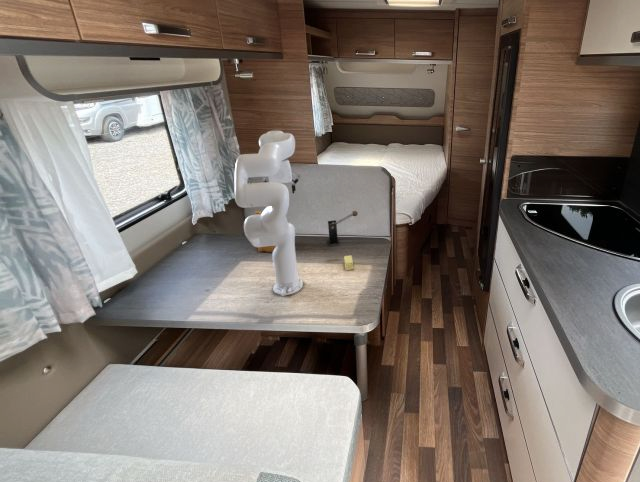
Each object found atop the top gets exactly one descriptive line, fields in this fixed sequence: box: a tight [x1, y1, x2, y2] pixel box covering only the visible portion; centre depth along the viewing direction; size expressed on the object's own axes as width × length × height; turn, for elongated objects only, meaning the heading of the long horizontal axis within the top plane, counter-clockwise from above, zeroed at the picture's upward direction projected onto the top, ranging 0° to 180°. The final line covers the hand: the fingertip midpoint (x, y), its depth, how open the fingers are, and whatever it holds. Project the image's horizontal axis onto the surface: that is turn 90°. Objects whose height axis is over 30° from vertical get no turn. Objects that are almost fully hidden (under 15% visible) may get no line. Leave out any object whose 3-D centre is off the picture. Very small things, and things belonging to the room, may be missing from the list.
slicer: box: [327, 219, 339, 245], centre depth 189 cm, size 5×6×13 cm
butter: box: [343, 255, 354, 271], centre depth 168 cm, size 7×4×4 cm, turn 16°
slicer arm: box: [330, 210, 359, 225], centre depth 188 cm, size 17×3×3 cm, turn 106°
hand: (282, 193), depth 160 cm, fingers open, 9 cm apart
